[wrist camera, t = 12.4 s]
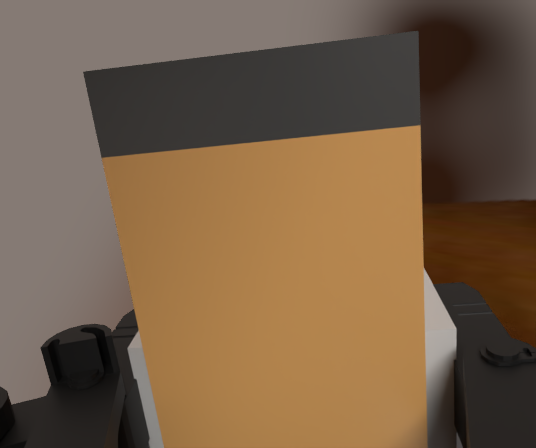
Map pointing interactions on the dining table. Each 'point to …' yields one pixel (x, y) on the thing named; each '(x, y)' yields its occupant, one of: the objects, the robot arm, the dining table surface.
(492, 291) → the dining table surface
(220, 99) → the lever
